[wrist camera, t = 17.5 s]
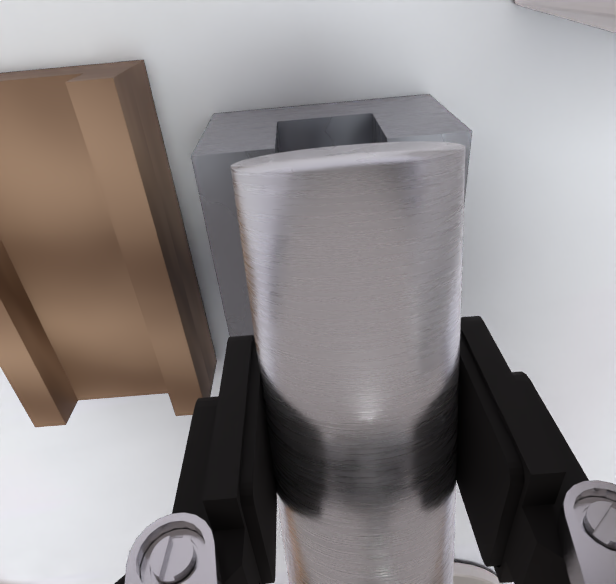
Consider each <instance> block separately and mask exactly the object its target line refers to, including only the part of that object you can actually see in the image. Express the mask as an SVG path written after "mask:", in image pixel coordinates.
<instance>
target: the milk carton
mask: <svg viewBox="0 0 616 584" xmlns="http://www.w3.org/2000/svg"><path fill="white" fill-rule="evenodd" d="M515 4H517V5H519V6H522V7H526V8H529V9H533V10H536V11H540V12H544V13H547V14H551V15H554V16H558V17H561V18H565V19H568V20H572V21H575V22H579V23H582V24H586V25H589V26H593V27H596V28H600V29H603V30H607V31H610V32H614V33H616V0H515Z"/></svg>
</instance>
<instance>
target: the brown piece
mask: <svg viewBox="0 0 616 584" xmlns="http://www.w3.org/2000/svg"><path fill="white" fill-rule="evenodd" d="M216 362H217V360H216V356H215V352H214V348H213V344H212V340H211V336H210V332H209V327H208V323H207V319H206V315H205V311H204V307H203V303H202V299H201V294H200V290H199V286H198V282H197V278H196V274H195V270H194V266H193V261H192V257H191V253H190V249H189V245H188V241H187V237H186V233H185V229H184V224H183V220H182V216H181V212H180V208H179V204H178V200H177V196H176V191H175V187H174V183H173V179H172V175H171V171H170V167H169V163H168V158H167V154H166V150H165V146H164V142H163V138H162V134H161V130H160V125H159V121H158V117H157V113H156V109H155V105H154V101H153V97H152V92H151V88H150V84H149V80H148V76H147V72H146V68H145V64H144V60H136V61H125V62H114V63H104V64H93V65H82V66H71V67H60V68H49V69H39V70H28V71H17V72H6V73H0V367H1V369H2V370H3V372H4V374H5V376H6V377H7V379H8V381H9V383H10V384H11V386H12V388H13V389H14V391H15V393H16V395H17V396H18V398H19V400H20V402H21V403H22V405H23V407H24V409H25V410H26V412H27V414H28V416H29V417H30V419H31V421H32V423H33V424H34V426H35V427H44V426H57V425H66V423H67V421H68V419H69V417H70V415H71V413H72V411H73V409H74V407H75V405H76V403H77V401H78V400H88V399H100V398H112V397H125V396H137V395H149V394H162V393H168V394H169V397H170V400H171V403H172V406H173V409H174V412H175V415H176V416H182V415H193V412H194V407H195V404H196V401H197V399H198V398H206V397H210V394H211V389H212V384H213V378H214V373H215V368H216Z"/></svg>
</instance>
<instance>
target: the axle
mask: <svg viewBox="0 0 616 584" xmlns="http://www.w3.org/2000/svg"><path fill="white" fill-rule="evenodd" d="M465 147H466V146H464V145H462V144H457V143H450V142H426V141H417V142H384V143H367V144H353V145H341V146H330V147H321V148H312V149H303V150H296V151H288V152H282V153H275V154H269V155H264V156H259V157H254V158H249V159H245V160H242V161H239V162H236V163H234V164H232V165H231V174H232V181H233V188H234V195H235V202H236V209H237V216H238V224H239V231H240V238H241V245H242V252H243V259H244V266H245V273H246V280H247V287H248V294H249V302H250V309H251V316H252V323H253V330H254V337H255V344H256V351H257V358H258V365H259V369H260V374H261V381H262V388H263V396H264V403H265V410H266V417H267V424H268V432H269V439H270V446H271V453H272V460H273V467H274V475H275V482H276V489H277V500H278V507H279V514H280V522H281V529H282V536H283V543H284V550H285V557H286V564H287V571H288V578H289V584H453V570H454V534H455V499H456V464H457V429H458V393H459V358H460V323H461V288H462V252H463V217H464V182H465Z"/></svg>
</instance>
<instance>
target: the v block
mask: <svg viewBox="0 0 616 584" xmlns="http://www.w3.org/2000/svg"><path fill="white" fill-rule="evenodd" d="M471 136H472V130H470V129H469V128H468V127H467V126H466V125H465V124H463V123H462V122H461V121H460V120H459V119H458V118H456V117H455V116H454V115H453V114H452V113H451V112H449V111H448V110H447V109H446V108H445V107H444V106H442V105H441V104H440V103H439V102H438V101H437V100H436V99H434V98H433V97H432V96H431V95H430V94H426V95H415V96H404V97H393V98H381V99H370V100H359V101H348V102H337V103H326V104H315V105H304V106H293V107H282V108H271V109H259V110H248V111H237V112H226V113H215V114H213V116H212V118H211V120H210V122H209V124H208V125H207V127H206V129H205V131H204V133H203V135H202V137H201V138H200V140H199V142H198V144H197V146H196V148H195V150H194V151H193V153H192V155H191V158H192V163H193V167H194V172H195V177H196V181H197V186H198V191H199V195H200V200H201V205H202V209H203V214H204V219H205V223H206V228H207V233H208V237H209V242H210V247H211V251H212V256H213V261H214V265H215V270H216V275H217V279H218V284H219V288H220V293H221V298H222V302H223V307H224V312H225V316H226V321H227V326H228V330H229V335H230V337H234V336H245V335H254V330H253V323H252V316H251V309H250V302H249V294H248V287H247V280H246V273H245V266H244V259H243V252H242V245H241V238H240V231H239V224H238V216H237V209H236V202H235V195H234V188H233V181H232V174H231V165H232V164H234V163H236V162H239V161H242V160H245V159H249V158H254V157H259V156H264V155H269V154H275V153H282V152H288V151H296V150H303V149H312V148H321V147H330V146H341V145H353V144H367V143H384V142H417V141H426V142H450V143H457V144H462V145H464V146H466V147H465V182H464V202H465V193H466V183H467V174H468V165H469V155H470V146H471ZM254 338H255V337H254Z"/></svg>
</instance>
